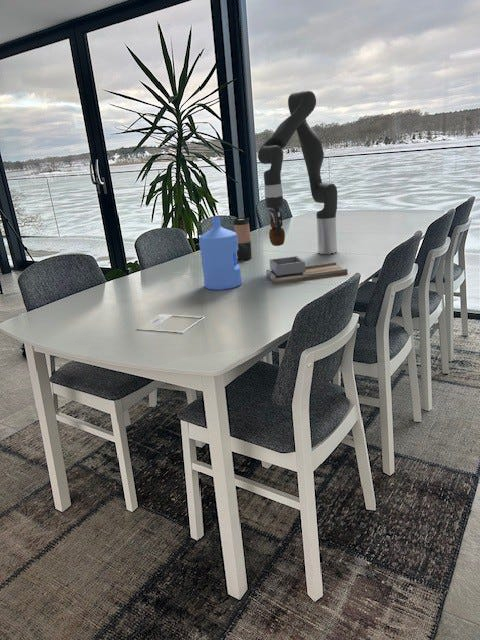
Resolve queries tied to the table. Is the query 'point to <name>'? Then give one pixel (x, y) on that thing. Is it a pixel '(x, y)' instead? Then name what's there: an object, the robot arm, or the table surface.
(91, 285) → the table surface
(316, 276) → the rail board
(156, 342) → the table surface
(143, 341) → the table surface
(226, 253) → the water jug
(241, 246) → the travel mug
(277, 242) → the wooden figurine
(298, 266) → the shallow grey tray
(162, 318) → the photo frame
